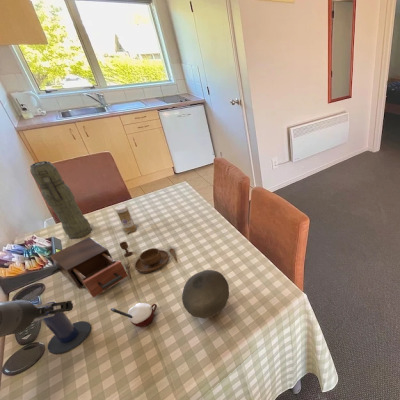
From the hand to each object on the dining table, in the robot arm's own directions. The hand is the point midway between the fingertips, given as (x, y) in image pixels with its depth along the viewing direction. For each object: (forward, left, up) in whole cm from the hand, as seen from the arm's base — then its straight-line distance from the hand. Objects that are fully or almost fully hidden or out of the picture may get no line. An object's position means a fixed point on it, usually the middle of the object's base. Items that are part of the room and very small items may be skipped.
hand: (52, 310), depth 74 cm
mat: (0, -1, -11) cm, 11 cm away
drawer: (+15, +14, -10) cm, 23 cm away
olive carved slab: (+24, +57, -12) cm, 64 cm away
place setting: (+31, +12, -12) cm, 36 cm away
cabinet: (+15, +26, -11) cm, 33 cm away
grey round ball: (+27, -30, -12) cm, 42 cm away
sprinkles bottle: (+38, +38, -12) cm, 55 cm away
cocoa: (+13, -15, -12) cm, 23 cm away
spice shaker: (-1, -1, -11) cm, 11 cm away
